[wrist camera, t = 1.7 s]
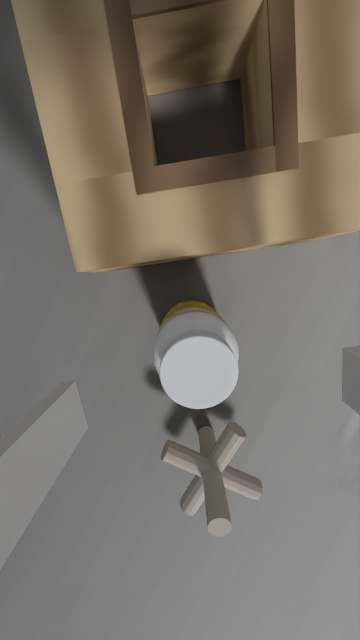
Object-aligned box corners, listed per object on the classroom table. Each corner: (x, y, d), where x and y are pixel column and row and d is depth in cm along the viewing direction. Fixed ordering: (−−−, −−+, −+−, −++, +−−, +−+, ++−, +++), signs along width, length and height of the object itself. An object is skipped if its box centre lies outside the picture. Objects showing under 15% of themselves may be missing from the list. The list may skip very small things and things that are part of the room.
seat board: (103, 271, 23) (74, 272, 16) (51, 25, 18) (-15, -97, 12) (325, 238, 22) (381, 225, 16) (324, -31, 17) (400, -193, 11)
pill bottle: (213, 359, 24) (238, 429, 14) (158, 349, 24) (138, 412, 14) (226, 304, 23) (264, 333, 12) (167, 293, 23) (154, 313, 12)
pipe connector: (187, 380, 25) (191, 450, 15) (264, 416, 26) (313, 504, 16) (150, 448, 27) (131, 548, 17) (222, 479, 28) (243, 591, 18)
